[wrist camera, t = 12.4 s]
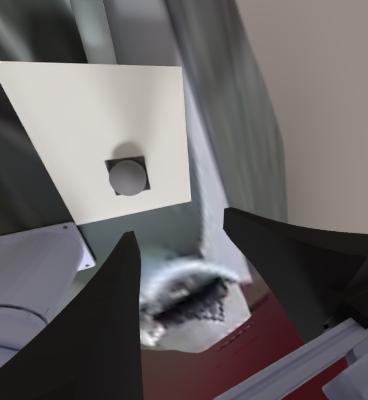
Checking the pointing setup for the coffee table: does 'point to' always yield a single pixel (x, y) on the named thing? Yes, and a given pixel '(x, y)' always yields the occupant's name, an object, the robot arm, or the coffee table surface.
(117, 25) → the coffee table surface
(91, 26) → the block
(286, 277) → the robot arm
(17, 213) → the coffee table surface
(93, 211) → the housing
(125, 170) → the plunger
